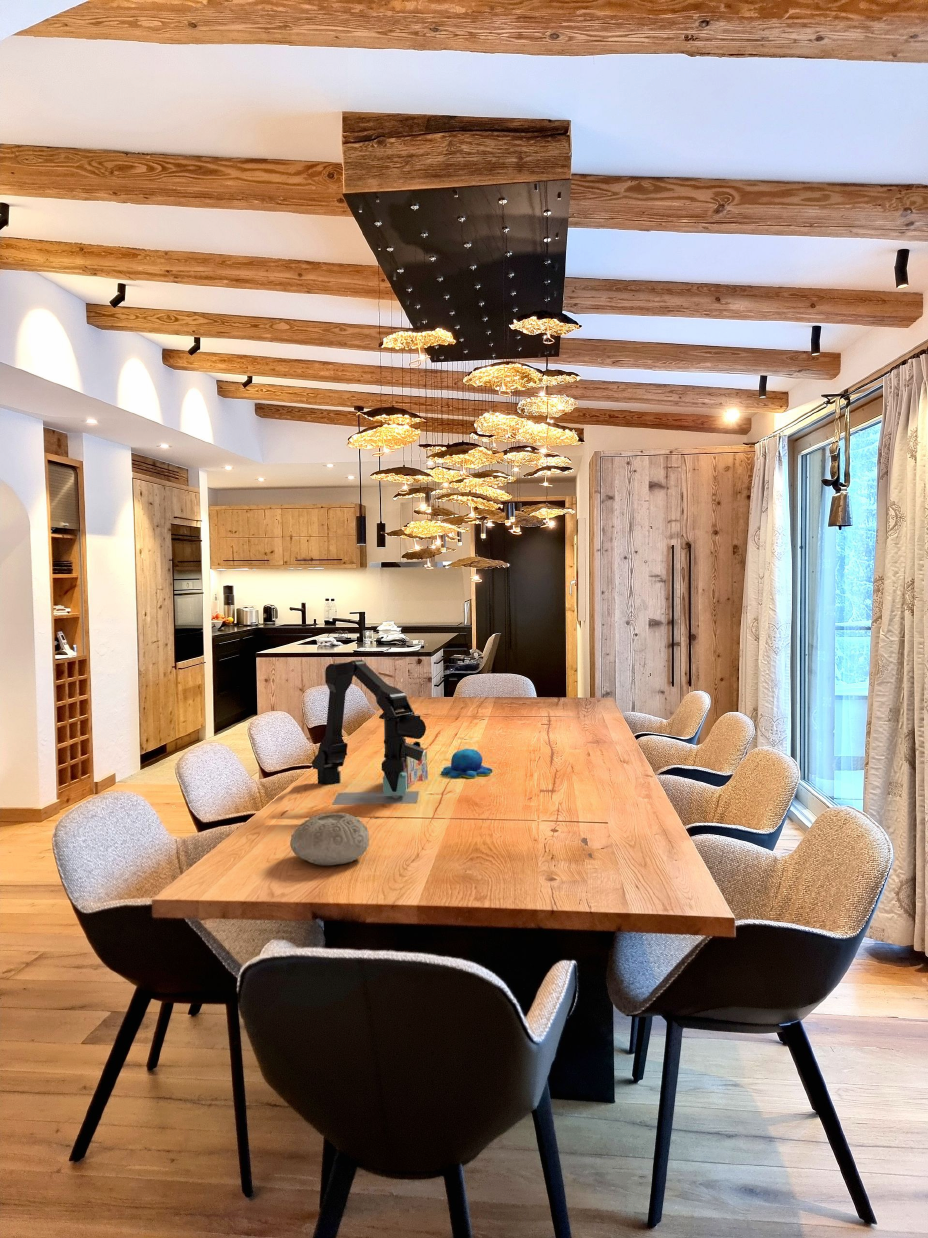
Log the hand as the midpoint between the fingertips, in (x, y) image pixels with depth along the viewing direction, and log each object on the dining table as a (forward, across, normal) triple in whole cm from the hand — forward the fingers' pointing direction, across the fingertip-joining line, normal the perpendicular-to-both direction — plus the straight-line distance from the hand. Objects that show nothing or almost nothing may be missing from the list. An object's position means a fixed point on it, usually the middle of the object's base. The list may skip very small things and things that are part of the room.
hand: (395, 788), depth 247 cm
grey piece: (+4, 0, +6) cm, 7 cm away
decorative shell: (+4, -51, +12) cm, 52 cm away
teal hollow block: (+1, 0, 0) cm, 1 cm away
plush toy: (+4, +38, -21) cm, 43 cm away
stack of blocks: (+4, +21, -3) cm, 22 cm away
